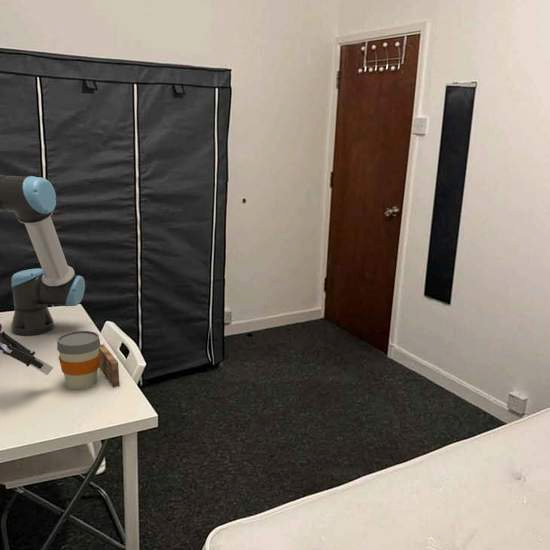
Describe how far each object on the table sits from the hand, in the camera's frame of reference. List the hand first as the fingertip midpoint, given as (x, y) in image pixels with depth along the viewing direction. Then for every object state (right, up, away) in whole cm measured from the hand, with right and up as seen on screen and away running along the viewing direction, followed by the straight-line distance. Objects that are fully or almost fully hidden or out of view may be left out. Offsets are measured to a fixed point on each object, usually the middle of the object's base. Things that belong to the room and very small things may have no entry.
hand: (49, 370), depth 165 cm
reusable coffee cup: (+7, -5, +6) cm, 11 cm away
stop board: (+14, -4, +11) cm, 19 cm away
